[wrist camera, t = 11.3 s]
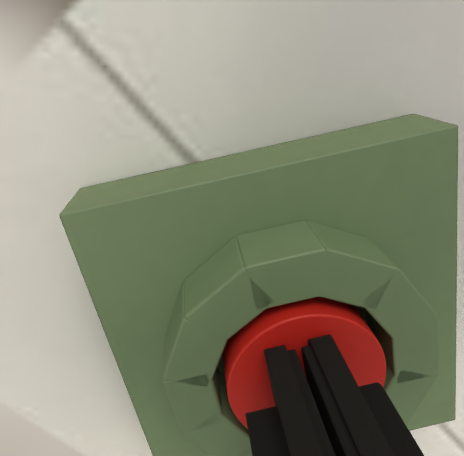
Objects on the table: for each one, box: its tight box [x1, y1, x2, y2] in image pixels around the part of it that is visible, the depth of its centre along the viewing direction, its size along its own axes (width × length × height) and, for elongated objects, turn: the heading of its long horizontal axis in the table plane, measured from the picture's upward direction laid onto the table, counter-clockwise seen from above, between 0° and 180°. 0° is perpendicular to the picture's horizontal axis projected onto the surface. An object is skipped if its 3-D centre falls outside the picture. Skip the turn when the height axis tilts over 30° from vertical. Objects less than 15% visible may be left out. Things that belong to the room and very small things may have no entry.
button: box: [222, 297, 386, 429], centre depth 11 cm, size 4×4×2 cm
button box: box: [60, 114, 458, 456], centre depth 12 cm, size 10×10×4 cm
